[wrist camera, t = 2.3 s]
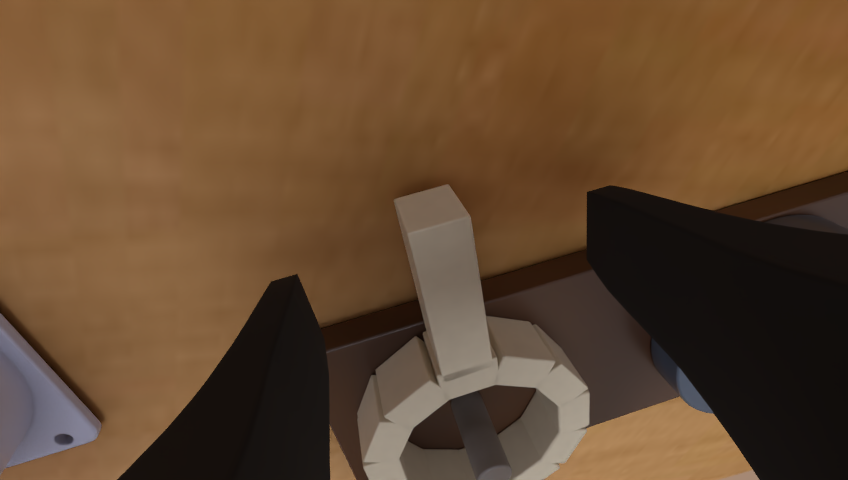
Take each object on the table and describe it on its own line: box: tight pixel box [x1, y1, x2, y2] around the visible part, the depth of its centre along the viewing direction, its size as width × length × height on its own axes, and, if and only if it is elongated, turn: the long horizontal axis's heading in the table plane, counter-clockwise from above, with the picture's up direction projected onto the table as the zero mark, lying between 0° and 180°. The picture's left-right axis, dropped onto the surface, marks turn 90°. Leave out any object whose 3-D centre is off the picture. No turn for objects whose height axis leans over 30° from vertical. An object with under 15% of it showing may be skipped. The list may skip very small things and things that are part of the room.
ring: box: [357, 184, 590, 480], centre depth 15 cm, size 8×13×2 cm, turn 11°
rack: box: [321, 172, 848, 480], centre depth 16 cm, size 22×9×6 cm, turn 101°
